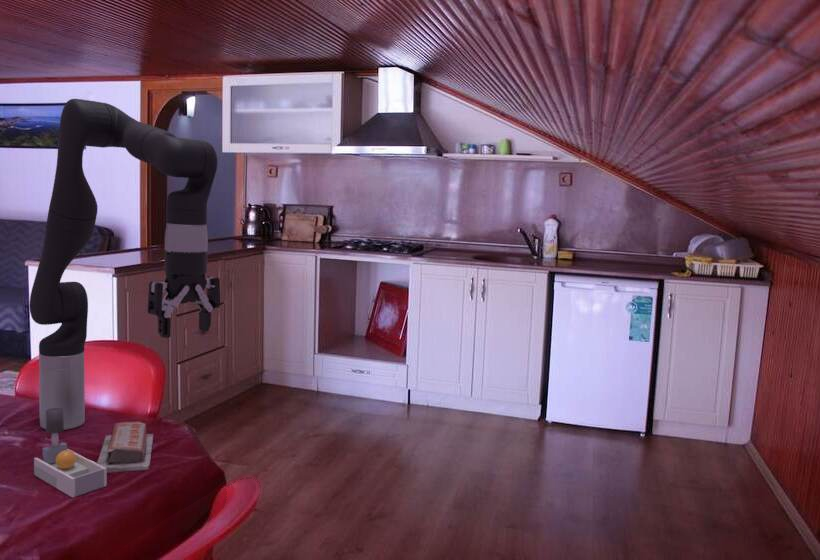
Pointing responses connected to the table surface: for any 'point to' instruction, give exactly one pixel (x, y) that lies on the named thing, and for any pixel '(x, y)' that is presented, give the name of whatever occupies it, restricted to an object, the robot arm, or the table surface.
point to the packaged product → (127, 448)
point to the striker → (54, 434)
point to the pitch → (50, 470)
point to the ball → (65, 459)
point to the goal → (82, 480)
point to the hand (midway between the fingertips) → (185, 333)
